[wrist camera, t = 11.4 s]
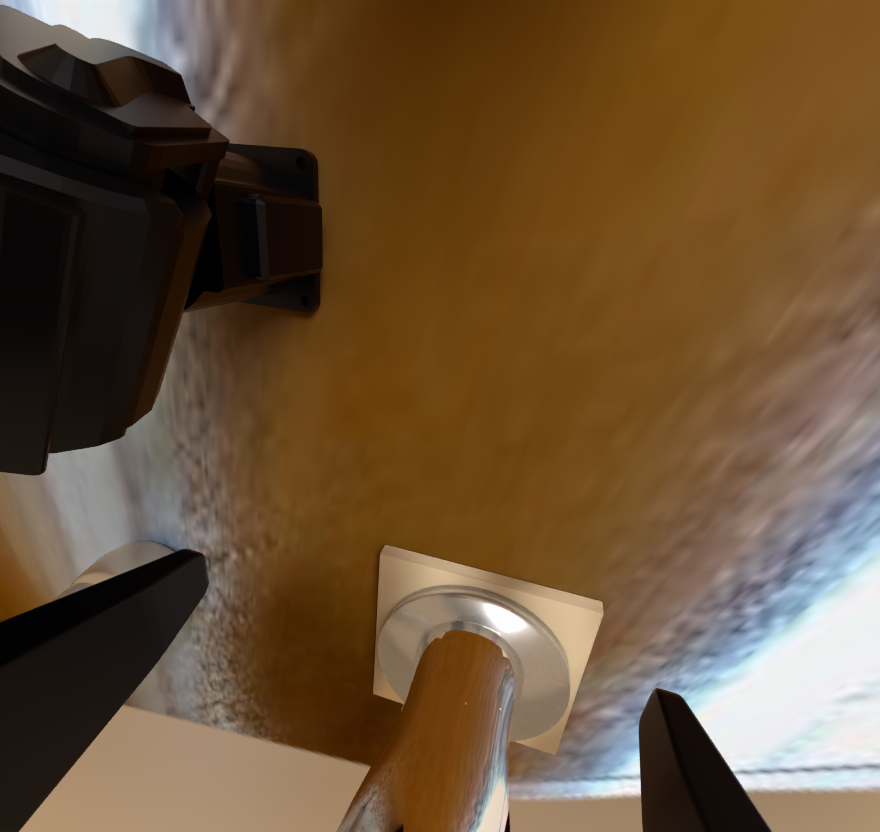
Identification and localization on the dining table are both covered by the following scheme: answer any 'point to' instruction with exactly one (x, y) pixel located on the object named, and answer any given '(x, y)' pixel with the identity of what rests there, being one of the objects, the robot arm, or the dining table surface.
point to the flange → (499, 614)
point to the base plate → (555, 608)
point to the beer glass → (447, 739)
